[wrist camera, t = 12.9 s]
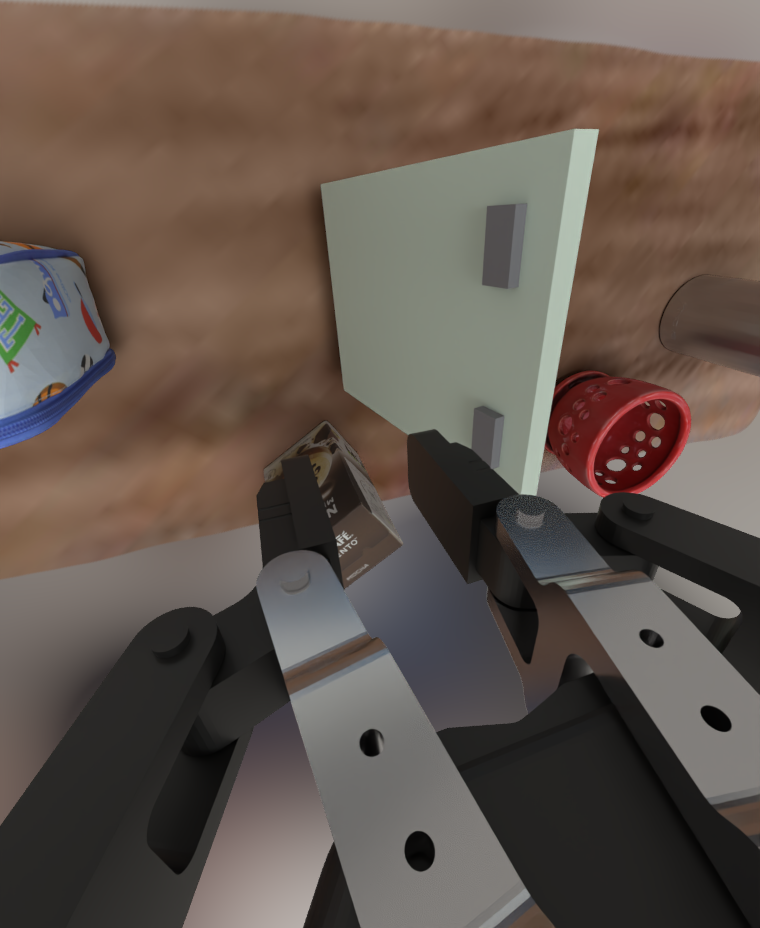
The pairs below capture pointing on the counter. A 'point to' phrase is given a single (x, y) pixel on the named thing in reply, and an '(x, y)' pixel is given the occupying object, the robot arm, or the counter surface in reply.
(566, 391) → the plant pot
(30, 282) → the lunch box
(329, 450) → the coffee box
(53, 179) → the counter surface
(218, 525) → the counter surface
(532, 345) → the lid
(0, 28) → the counter surface
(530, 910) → the robot arm
